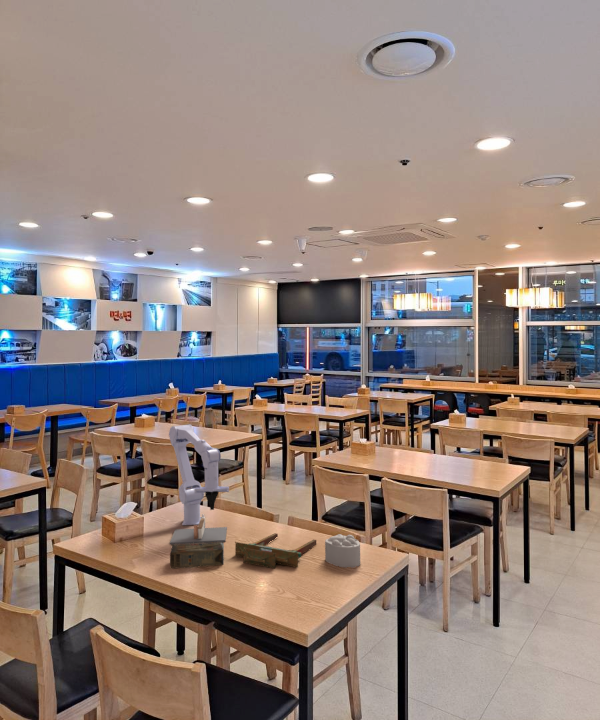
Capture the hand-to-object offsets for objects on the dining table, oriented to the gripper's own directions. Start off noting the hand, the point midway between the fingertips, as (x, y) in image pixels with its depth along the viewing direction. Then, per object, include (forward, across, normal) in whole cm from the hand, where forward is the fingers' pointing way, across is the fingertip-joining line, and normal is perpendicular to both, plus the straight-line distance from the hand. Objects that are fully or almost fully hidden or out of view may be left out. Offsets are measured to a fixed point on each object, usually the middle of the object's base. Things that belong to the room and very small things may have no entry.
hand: (212, 509), depth 232 cm
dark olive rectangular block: (+10, -3, -34) cm, 36 cm away
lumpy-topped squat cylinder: (+10, +50, -40) cm, 65 cm away
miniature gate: (+10, +26, -29) cm, 40 cm away
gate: (+8, -4, -6) cm, 11 cm away
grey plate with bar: (+9, -5, -6) cm, 12 cm away
